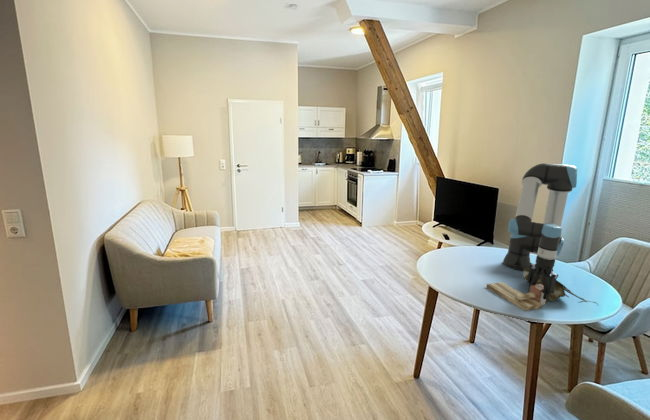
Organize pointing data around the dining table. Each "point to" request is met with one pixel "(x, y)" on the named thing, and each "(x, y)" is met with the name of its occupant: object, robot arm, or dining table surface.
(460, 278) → the dining table surface
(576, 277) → the dining table surface
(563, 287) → the dry twig
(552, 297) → the hollow geode rock
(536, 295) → the brown block with handle
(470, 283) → the dining table surface
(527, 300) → the board
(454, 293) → the dining table surface
